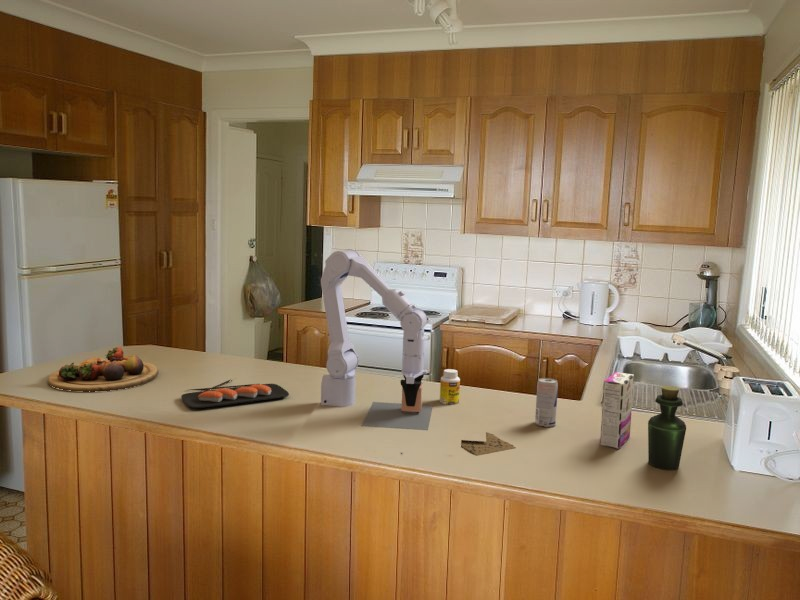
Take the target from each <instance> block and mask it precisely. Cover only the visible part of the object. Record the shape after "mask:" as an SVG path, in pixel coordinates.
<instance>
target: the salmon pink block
mask: <svg viewBox="0 0 800 600" xmlns="http://www.w3.org/2000/svg"><path fill="white" fill-rule="evenodd" d="M423 386H424V385H423V382H422V383H421V385H420V387H419V389H418V392H417V397H416V402H415V406H407V405H406V400H405V394H404V390H403V388H402V387H401V404H402V410H401V411H409V412H421V407H422V405H423Z"/></svg>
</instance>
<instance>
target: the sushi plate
mask: <svg viewBox="0 0 800 600" xmlns="http://www.w3.org/2000/svg"><path fill="white" fill-rule="evenodd" d="M230 380H231V379H229V380H226V381H224V382H221V383H220V384H218V385H217V384H216V385H214V386H212V387H203V388H191V389H189V390H201V391H191V392H186V393H184V394H182V395H181V396H180V398H181V400H182V401H183V403H184V404H185V405H186V406H188V407H189V408H191V409H204V408H205V409H207V408H214V407H215V406H216V407H224V406H230V405H238V403H239V404H246V403H253V402H260V401H261V400H262V401H267V400H268V401H270V400H274V399H281V398H287V397H288V396H290V393H289V392H288V391H287V390H286V389H285V388H284V387H282V386H281V385H278V384H276V383H261V384H260V383H251V384H241V385H229V386H228V385H227V386H223V385H226V384H228V383H227V382H229V381H230ZM225 383H226V384H225ZM229 383H230V382H229ZM210 389H211V390H210ZM206 407H207V408H206Z"/></svg>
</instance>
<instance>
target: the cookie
mask: <svg viewBox="0 0 800 600" xmlns="http://www.w3.org/2000/svg"><path fill="white" fill-rule="evenodd" d="M485 439H486V440H485V441H481V440H465V439H461V441H460V448H462V449H463V450H465V451H467V452H469V453H471V454H472V455H474V456H476V457H478V456H482V455H488V454H493V453H498V452H499V453H500V452H504V451H507V450H508V451H509V450H513V449H514V450H515V449H517V448H516V447H515V446H514V444H511V443H509V442H508V441H505V440H503V439H502V438H499V437H498V436H496V435H495V434H493V433H490V432H488V431H487V432H485Z"/></svg>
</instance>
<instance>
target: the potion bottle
mask: <svg viewBox="0 0 800 600" xmlns="http://www.w3.org/2000/svg"><path fill="white" fill-rule="evenodd" d="M660 388H661V394H659V395H657V396H656V398H655V400H654V401H655V403H656V404H659V407H660V413H658V414H656V415H653V416H651V417H650V418H649V419H648V422H647V434H648V435H647V446H648V450H647V451H648V452H647V454H648V455H647V456H648V463H649V465H651V466H652V467H654V468H656V469H659V470H666V471H672V470H676V469H678V468H680V462H681V458H682V453H683V448H684V442H685V436H686V432H687V425H686V422H685V421H684V420H682V419H681V418H680V417H678V416H677V415H676V413H677V409H678V407H682V406H684V402H683V399H682V398H681V397H679V396H678V395H679V392H680V387H677V386H674V385H661V387H660Z"/></svg>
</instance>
